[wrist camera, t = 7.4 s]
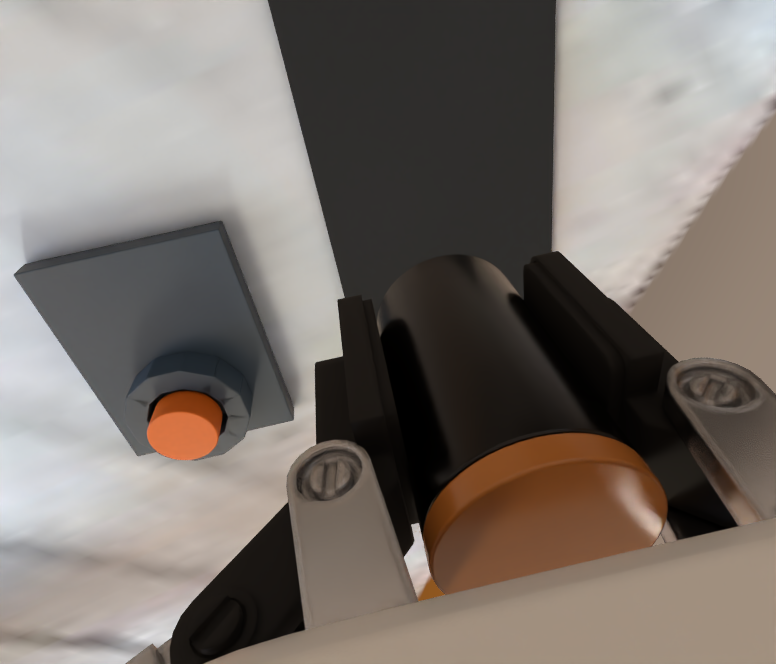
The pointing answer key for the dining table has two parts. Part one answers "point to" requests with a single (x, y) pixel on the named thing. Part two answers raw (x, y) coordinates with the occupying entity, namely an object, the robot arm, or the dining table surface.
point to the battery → (504, 434)
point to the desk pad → (425, 129)
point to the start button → (185, 425)
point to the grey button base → (163, 330)
